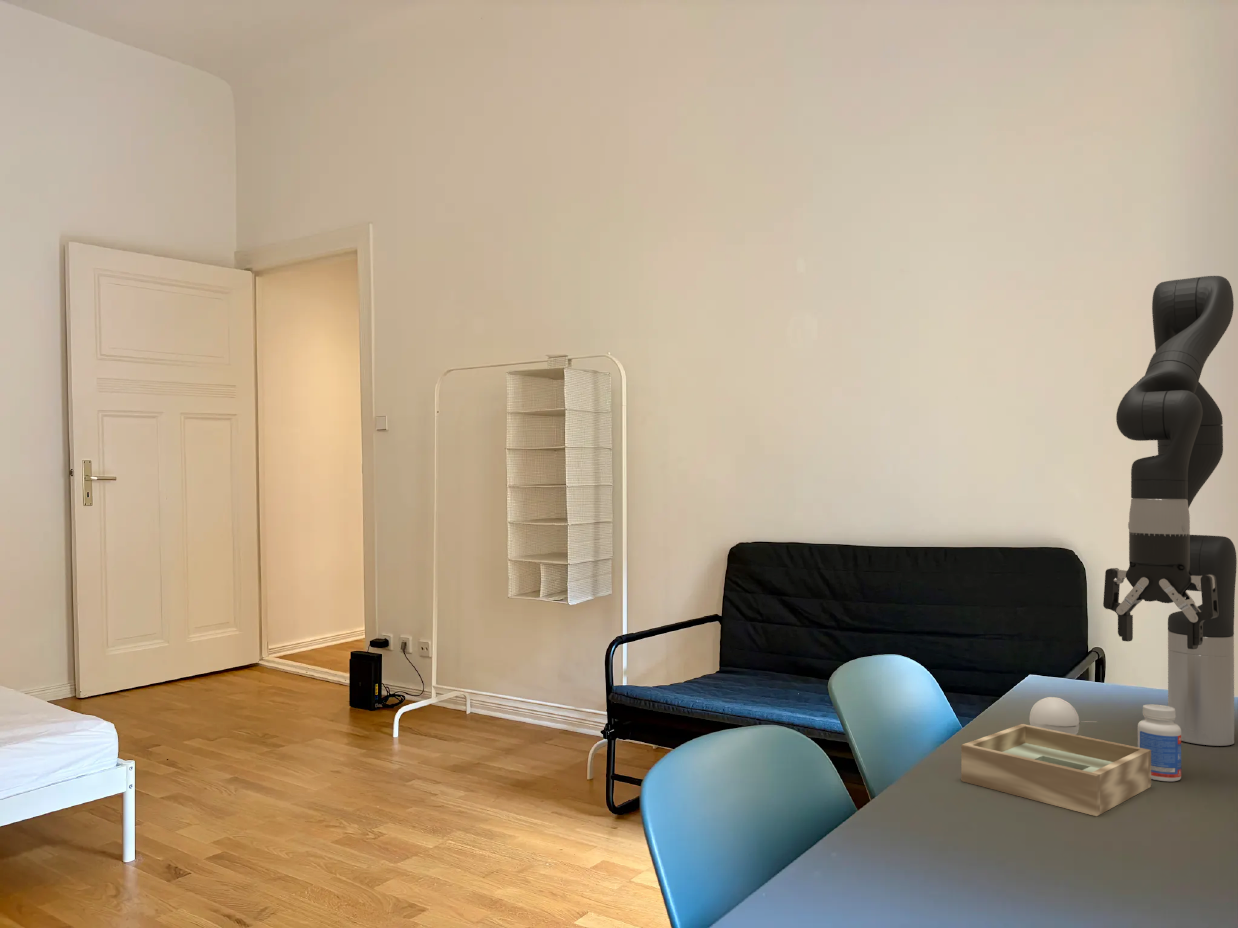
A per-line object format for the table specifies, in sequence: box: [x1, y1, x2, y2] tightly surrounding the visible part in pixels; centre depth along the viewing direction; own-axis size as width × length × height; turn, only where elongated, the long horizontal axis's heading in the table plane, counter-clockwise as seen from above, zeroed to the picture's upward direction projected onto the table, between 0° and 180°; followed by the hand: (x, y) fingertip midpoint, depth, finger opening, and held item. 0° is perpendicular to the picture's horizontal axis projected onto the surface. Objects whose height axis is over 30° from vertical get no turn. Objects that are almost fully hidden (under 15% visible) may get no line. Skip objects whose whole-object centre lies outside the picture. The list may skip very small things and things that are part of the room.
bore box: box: [960, 723, 1152, 817], centre depth 130 cm, size 18×18×5 cm
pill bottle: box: [1137, 703, 1182, 782], centre depth 134 cm, size 6×5×10 cm
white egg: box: [1029, 696, 1098, 735], centre depth 149 cm, size 10×7×7 cm
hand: (1159, 644), depth 134 cm, fingers open, 8 cm apart
